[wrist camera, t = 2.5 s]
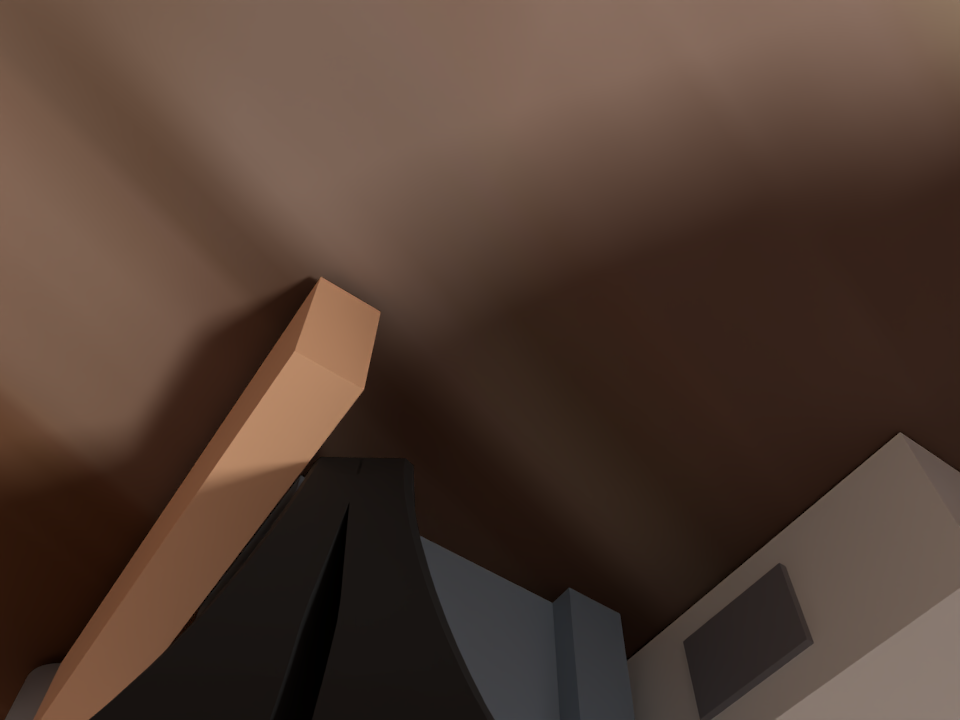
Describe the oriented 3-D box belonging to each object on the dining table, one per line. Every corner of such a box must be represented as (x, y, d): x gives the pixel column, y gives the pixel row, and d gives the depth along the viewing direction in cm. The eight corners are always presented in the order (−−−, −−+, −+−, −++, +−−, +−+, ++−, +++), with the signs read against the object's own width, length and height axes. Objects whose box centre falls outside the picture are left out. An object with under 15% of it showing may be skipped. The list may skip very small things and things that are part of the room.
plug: (316, 451, 15) (263, 645, 12) (639, 618, 17) (673, 824, 14) (189, 617, 17) (115, 819, 14) (488, 748, 19) (486, 951, 16)
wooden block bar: (295, 261, 13) (258, 352, 11) (403, 325, 13) (387, 423, 11) (11, 699, 18) (-49, 814, 16) (97, 732, 19) (48, 847, 17)
